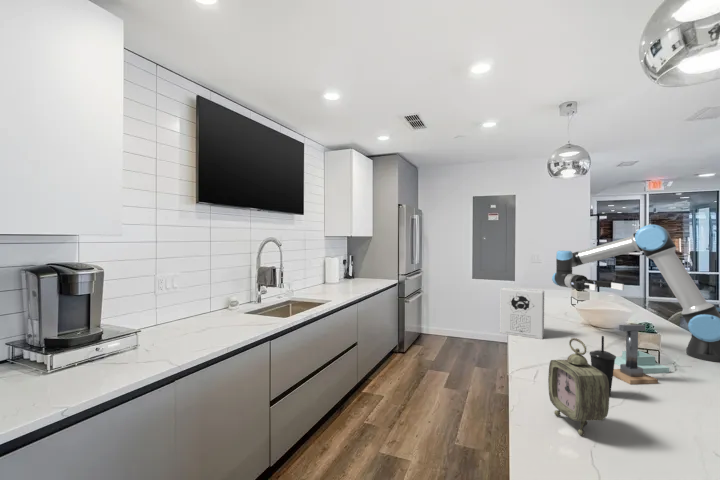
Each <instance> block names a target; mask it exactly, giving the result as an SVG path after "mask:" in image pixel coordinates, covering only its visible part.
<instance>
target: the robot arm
mask: <svg viewBox="0 0 720 480" xmlns="http://www.w3.org/2000/svg"><path fill="white" fill-rule="evenodd" d="M676 249H677V245H676V244H675V242H674V241H673V239H672V238H671V233H670V231H669V230H668V229H667V228H666V227H664V226H660V225H658V224H647V225H643V226H642V227H640V228H639V229H638V230H637V231H636V232H633V233H632V234H631V236H628V237H625V238H620V239H618V240H613V241H610V242H606V243H602V244H599V245H596V246H592V247H590V248H589V247H588V248H585V249H582V250H581V249H580V250H578V251H575V252H573V251H571V250H558V251H556V256H555V258H556V269H555V270H556V272H554V273H553V274H552V277H551V280H552V283H554V285H556V286H559V287H563V288H569V289H571V290H578V291H584V290H589V291H595V292H597V288H609V289H614V290H619V291H625V284H624V283H618V282H616V281H614V280H612V281H605V280H594V279H588V278H587V276H585V275H583V274H576V273H573V268H575V267H579V266H582V265H585V264H589V263H594V262H597V261H601V260H605V259H608V258H614V257H616V256H617V257H618V256H620V255H625V254H628V253H633V252H635V251H636V252H637V251H638V252H643V253H644V255H645V258H647V259H650V260H652V261H653V262H654V264H655V266H656V267H657V269H658V271H659V272H660V274H661V276H662V277H663V279H664V281H665V282H666V283H667V286H668V287H669V288H670V290H671V292H672V293H673V295H674V297H675V298H676V300H677V301H678V304H679V305H680V306H681V308H682V311H681V315H682V317H683V319H684V320H685V322H686V323H687V324H686V325H688V326H687V328H688V331H689V332H690V333H691V335H690V336H691V337H690V340H689V342H688V344H687V347H686V348H685V350H686V351H685V353H686V355H687V356H689V357H692V358H696V359H699V360H703V361H709V362H714V363H715V362H717V363H720V307H716V306H715V304H714V303H713V304H712V303H710V302H708V301H707V300H706V298H705V297H704V296H703V294H702V293H701V290H700V289H699V287H698V286H697V284H696V283H695V281H694V280H693V278H692V277H691V275H690V274H689V272H688V271H687V268H686V267H685V266H684V264H683V263H682V260H681V259H680V258H679V256H678V254H676Z"/></svg>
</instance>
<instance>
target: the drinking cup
mask: <svg viewBox="0 0 720 480" xmlns="http://www.w3.org/2000/svg"><path fill="white" fill-rule="evenodd" d="M600 348H601V349H600V350H599V349H598V350H592V351H590V352H589V355H590V365H591V366H593V367H595V368H596V369H598V370H600V371H602V372H603V373H604V374H605V375H606V376H607V378H608V382H609V397H610V396H611V395H612V394H611V392H612V386H613V378H614V376H613V371H614V369H615V364H614V363H615V359H616V357H617V356H616V355H615V354H613V353H611V352H609V351H606V350H605V337H604V336H603V335H601V347H600Z"/></svg>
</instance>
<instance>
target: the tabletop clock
mask: <svg viewBox="0 0 720 480" xmlns="http://www.w3.org/2000/svg"><path fill="white" fill-rule="evenodd" d="M573 341H575V342H579V344H581V345H582V347H583V349H584V352H581V350H580V348H577V347H576V348H574V347H573V346H572V342H573ZM568 344H569V347H570V349H571V351H572V352H574V353H573V354H570V355H569V356H568V357H567V358H566V359H551V360H550V362H549V365H548V366H549V367H548V381H547V382H548V395H549V400H550V402H551V404H552V405H553V406H554V408H556V410H554V411H553V413H554V415H555V417H560V416H561V414H562V415H564V416H566V417H567V418H568V419H570V420H571V421H574V422H580V428H579V429H578V430H577V433H578V435H579V436H582V437H583V436H585V434H586V433H585V430H584V426H587V425H588V422H589V421H603V420H605V419H606V417H607V416H608V414H609V408H610V407H609V406H610V396H609V382H608V378H607V376H606V375H605V374H604V373H603V372H602V371H600V370H598V369H596V368H595V367H593V366H591V364H589V363H588V359H587V358H586V357H585V356H584V355H585V354H587V346H586V345H585V343H584V342H583V341H582V340H581V339H579V338H575V337H573V338H570V339H569V343H568Z"/></svg>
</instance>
